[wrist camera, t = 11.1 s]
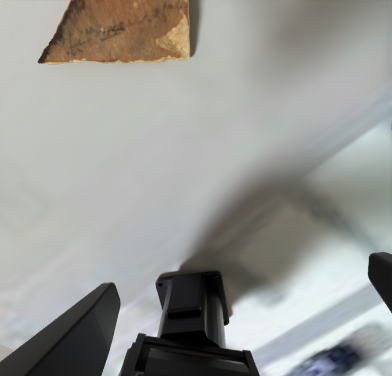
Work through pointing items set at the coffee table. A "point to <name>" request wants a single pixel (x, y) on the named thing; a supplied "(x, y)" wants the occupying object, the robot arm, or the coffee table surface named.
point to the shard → (121, 32)
